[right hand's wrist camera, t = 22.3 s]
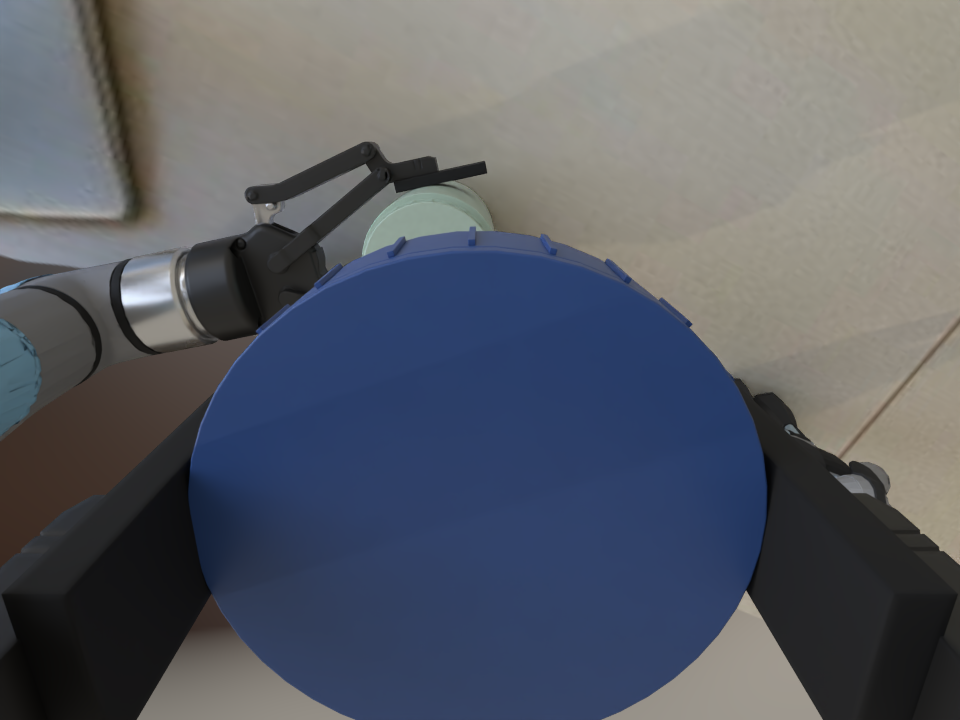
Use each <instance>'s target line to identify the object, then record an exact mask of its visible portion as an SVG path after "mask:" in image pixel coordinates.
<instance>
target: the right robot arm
mask: <svg viewBox="0 0 960 720" xmlns="http://www.w3.org/2000/svg"><path fill="white" fill-rule="evenodd" d="M735 384H736V383H735ZM736 386H737V387H738V389H739V391H740V393H741V395H742V397H743V399H744V401H745V403H746V406H747V408H748V410H749V412H750V414H751V416H752V418H753V420H754V424H755V427H756V430H757V434H758V437H759V441H760V444H761V447H762V451H763V456H764V463H765V471H766V479H767V520H766V525H765V531H764V536H763V542H762V547H761V552H760V555H759V558H758V561H757V564H756V567H755V569H754V572H753V575H752V578H751V581H750V583H749V585H748V587H747V589H746V591H747V592H748V594H749V596H750V597H751V599H752V601H753V602H754V604H755V606H756V608H757V609H758V611H759V613H760V614H761V616H762V618H763V619H764V621H765V623H766V624H767V626H768V628H769V629H770V631H771V633H772V634H773V636H774V638H775V639H776V641H777V643H778V645H779V646H780V648H781V650H782V651H783V653H784V655H785V656H786V658H787V660H788V661H789V663H790V665H791V666H792V668H793V670H794V672H795V673H796V675H797V677H798V678H799V680H800V682H801V683H802V685H803V687H804V688H805V690H806V692H807V693H808V695H809V697H810V699H811V700H812V702H813V704H814V705H815V707H816V709H817V710H818V712H819V714H820V715H821V717H822V719H823V720H960V565H959V564H958V563H957V562H955V561H954V560H953V559H952V558H951V557H950V556H949V555H948V554H946V553H945V552H944V551H939V547H938V546H937V545H936V544H935V543H934V542H933V541H932V540H931V539H929V538H928V537H927V536H926V535H925V534H920V530H919V529H918V528H917V527H916V526H915V525H914V524H912V523H911V522H910V521H909V520H908V519H907V518H906V517H904V516H903V515H902V514H901V513H900V512H899V511H898V510H896V509H894V508H893V507H891V506H889V505H887V504H885V503H883V502H882V501H880V500H878V499H876V498H874V497H872V496H871V495H869V494H867V493H851V492H850V491H849V490H848V489H847V488H846V487H845V486H844V485H842V484H841V483H840V482H839V481H838V480H837V479H836V478H835V477H834V476H833V475H832V474H831V473H830V472H829V471H828V470H827V469H826V468H825V467H823V466H822V465H821V464H820V463H819V462H818V461H817V460H816V459H815V458H814V457H813V456H812V455H811V454H810V453H809V452H808V451H807V450H805V449H804V448H803V447H802V446H801V445H800V444H799V443H798V442H797V441H796V440H795V439H794V438H793V437H792V436H791V435H790V434H789V433H787V432H786V431H785V430H784V429H783V428H782V427H781V426H780V425H779V424H778V423H777V422H776V421H775V420H774V419H773V418H772V417H771V416H770V415H768V414H767V413H766V412H765V411H764V410H763V409H762V408H761V407H760V406H759V405H758V404H757V403H756V402H755V401H754V400H753V399H752V398H750V397H749V396H748V395H747V394H746V393H745V392H744V391H743V390H742V389H741V388H740V387H739V386H738V385H737V384H736ZM214 393H215V392H214ZM214 393H213V394H212V395H211V396H210V397H209V398H208V399H207V400H206V401H205V402H204V403H203V404H202V405H201V406H200V407H199V408H197V409H196V410H195V411H194V412H193V413H192V414H191V415H190V416H189V417H188V418H187V419H186V420H185V421H184V422H183V423H182V424H181V425H180V426H178V427H177V428H176V429H175V430H174V431H173V432H172V433H171V434H170V435H169V436H168V437H167V438H166V439H165V440H164V441H163V442H162V443H161V444H159V445H158V446H157V447H156V448H155V449H154V450H153V451H152V452H151V453H150V454H149V455H148V456H147V457H146V458H145V459H144V460H142V462H140V463H139V464H138V465H137V466H136V467H135V468H134V469H133V470H132V471H131V472H130V473H129V474H128V475H127V476H126V477H124V478H123V479H122V480H121V481H120V482H119V483H118V484H117V485H116V486H115V487H114V488H113V489H112V490H111V491H110V492H109V493H108V494H106V495H93V496H91V497H90V498H88V499H86V500H84V501H82V502H81V503H79V504H77V505H75V506H73V507H71V508H70V509H68V510H66V511H64V512H63V513H62V514H60V515H59V516H58V517H57V518H56V519H55V520H54V521H53V522H51V523H50V524H49V525H48V526H47V527H46V528H45V529H44V530H42V531H41V532H40V536H36V537H35V538H33V539H32V540H31V541H30V542H29V543H28V544H27V545H26V546H24V547H23V548H22V549H21V553H20V554H15V555H14V556H13V557H12V558H11V559H10V560H9V561H8V562H6V563H5V564H4V565H3V566H2V567H1V568H0V720H137V718H138V716H139V715H140V713H141V711H142V710H143V708H144V706H145V705H146V703H147V701H148V700H149V698H150V696H151V694H152V693H153V691H154V689H155V688H156V686H157V684H158V683H159V681H160V679H161V678H162V676H163V674H164V673H165V671H166V669H167V668H168V666H169V664H170V662H171V661H172V659H173V657H174V656H175V654H176V652H177V651H178V649H179V647H180V646H181V644H182V642H183V641H184V639H185V637H186V635H187V634H188V632H189V630H190V629H191V627H192V625H193V624H194V622H195V620H196V619H197V617H198V615H199V614H200V612H201V610H202V609H203V607H204V605H205V604H206V602H207V600H208V598H209V597H210V595H211V591H210V589H209V588H208V586H207V583H206V581H205V578H204V575H203V573H202V569H201V564H200V560H199V555H198V550H197V544H196V539H195V534H194V529H193V524H192V519H191V514H190V507H189V501H188V486H189V476H190V466H191V457H192V453H193V450H194V446H195V442H196V439H197V435H198V431H199V427H200V424H201V422H202V420H203V417H204V415H205V413H206V411H207V408H208V406H209V404H210V402H211V399H212V397H213V395H214Z"/></svg>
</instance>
